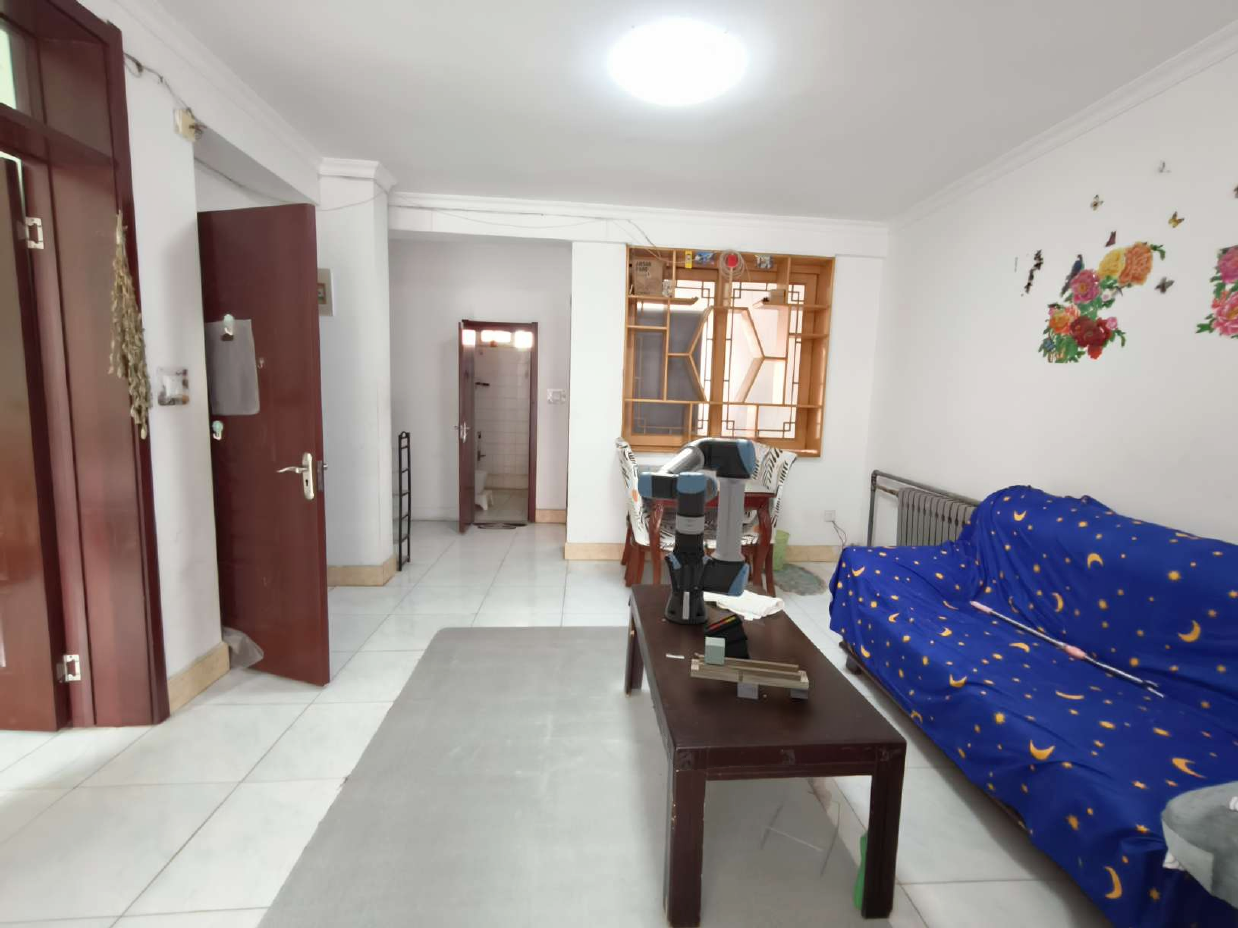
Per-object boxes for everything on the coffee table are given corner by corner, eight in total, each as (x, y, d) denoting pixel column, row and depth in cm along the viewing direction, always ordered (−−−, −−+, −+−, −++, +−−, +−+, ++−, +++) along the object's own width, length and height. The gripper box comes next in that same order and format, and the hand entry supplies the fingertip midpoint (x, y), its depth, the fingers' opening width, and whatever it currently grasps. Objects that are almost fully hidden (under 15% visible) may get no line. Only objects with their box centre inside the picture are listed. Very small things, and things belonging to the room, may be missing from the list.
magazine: (759, 661, 158) (740, 617, 156) (718, 680, 158) (698, 635, 156) (756, 656, 162) (736, 612, 160) (715, 673, 162) (696, 630, 160)
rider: (704, 661, 149) (705, 636, 148) (723, 663, 148) (724, 638, 147) (704, 669, 144) (705, 644, 143) (723, 671, 143) (724, 646, 142)
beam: (691, 679, 151) (692, 653, 150) (803, 692, 145) (805, 665, 144) (689, 690, 144) (691, 663, 143) (807, 705, 139) (809, 676, 138)
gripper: (663, 532, 140) (660, 619, 143) (714, 535, 138) (710, 624, 141) (666, 526, 148) (662, 609, 150) (714, 529, 145) (710, 614, 148)
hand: (685, 616), depth 145 cm, fingers closed
